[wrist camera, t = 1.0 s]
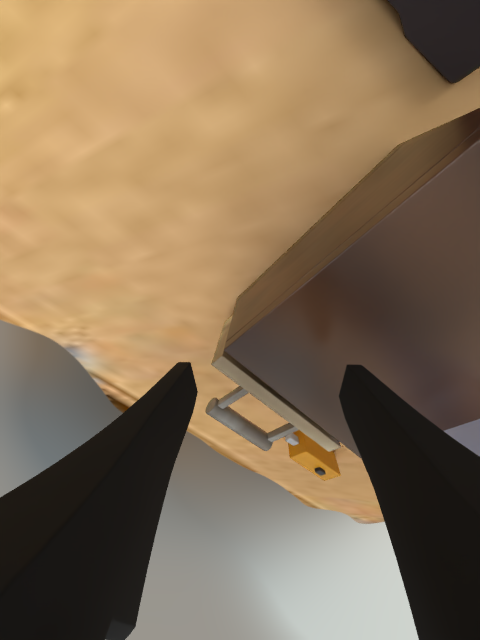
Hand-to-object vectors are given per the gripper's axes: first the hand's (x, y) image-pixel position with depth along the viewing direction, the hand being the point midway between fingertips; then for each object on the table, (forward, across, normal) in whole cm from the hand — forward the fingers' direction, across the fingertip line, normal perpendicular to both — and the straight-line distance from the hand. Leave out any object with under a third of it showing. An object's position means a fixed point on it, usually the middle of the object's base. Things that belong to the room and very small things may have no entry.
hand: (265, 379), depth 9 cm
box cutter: (+10, -6, +22) cm, 25 cm away
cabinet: (+10, -8, 0) cm, 13 cm away
